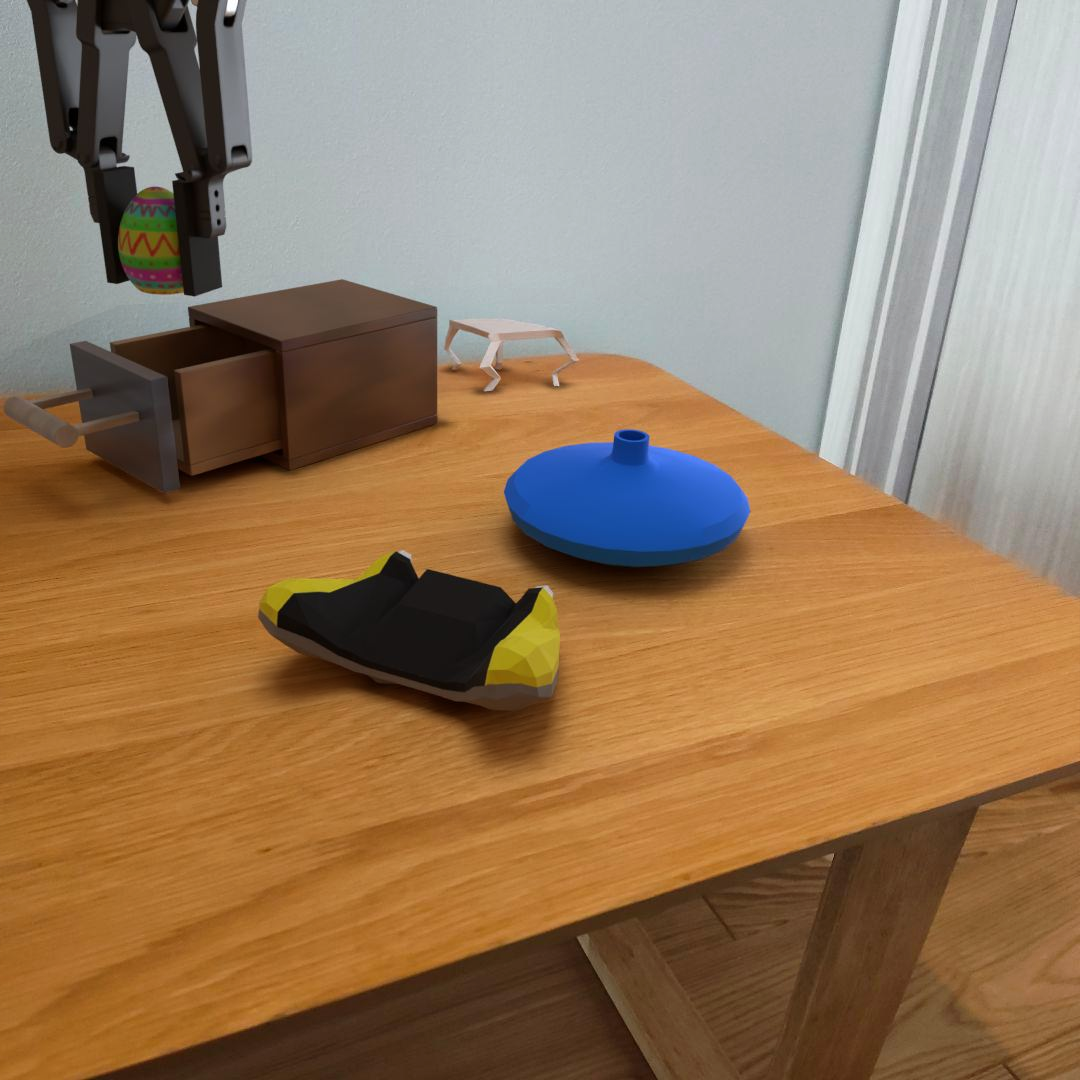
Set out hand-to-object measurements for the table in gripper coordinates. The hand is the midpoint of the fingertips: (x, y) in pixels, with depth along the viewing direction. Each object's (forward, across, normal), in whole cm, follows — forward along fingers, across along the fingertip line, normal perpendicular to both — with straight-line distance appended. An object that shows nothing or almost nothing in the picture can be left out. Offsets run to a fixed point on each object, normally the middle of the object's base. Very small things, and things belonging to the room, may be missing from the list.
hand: (164, 284), depth 65 cm
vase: (+15, +28, +8) cm, 33 cm away
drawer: (+14, -4, +4) cm, 15 cm away
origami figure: (+15, +9, +34) cm, 38 cm away
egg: (0, 0, 0) cm, 0 cm away
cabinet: (+15, 0, +16) cm, 22 cm away
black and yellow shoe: (+15, +24, -12) cm, 31 cm away
